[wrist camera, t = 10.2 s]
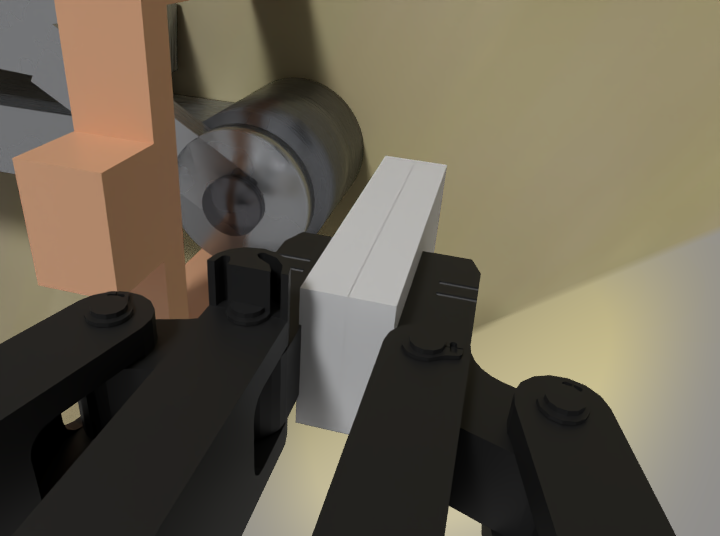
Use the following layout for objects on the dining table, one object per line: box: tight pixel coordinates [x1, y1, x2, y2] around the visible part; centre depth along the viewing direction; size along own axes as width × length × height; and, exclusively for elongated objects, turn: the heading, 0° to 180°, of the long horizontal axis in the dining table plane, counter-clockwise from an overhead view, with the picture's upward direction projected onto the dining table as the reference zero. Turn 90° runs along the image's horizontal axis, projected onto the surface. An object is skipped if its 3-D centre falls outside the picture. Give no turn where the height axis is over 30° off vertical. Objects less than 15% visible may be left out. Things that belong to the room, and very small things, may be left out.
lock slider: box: [12, 0, 212, 319], centre depth 18 cm, size 2×10×12 cm, turn 176°
